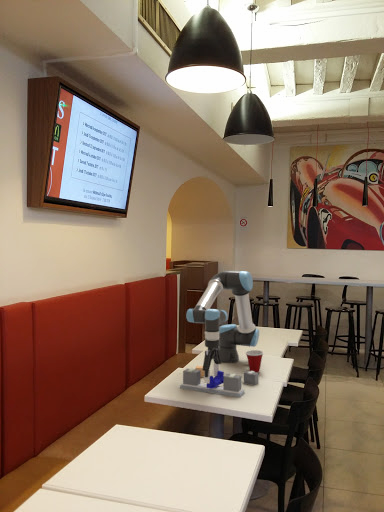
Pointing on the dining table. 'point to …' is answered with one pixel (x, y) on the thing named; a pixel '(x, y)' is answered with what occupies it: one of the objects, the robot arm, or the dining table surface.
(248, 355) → the plastic cup
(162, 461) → the dining table surface
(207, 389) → the rail fixture
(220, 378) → the cable clip
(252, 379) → the block
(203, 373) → the terminal block
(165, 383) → the dining table surface
